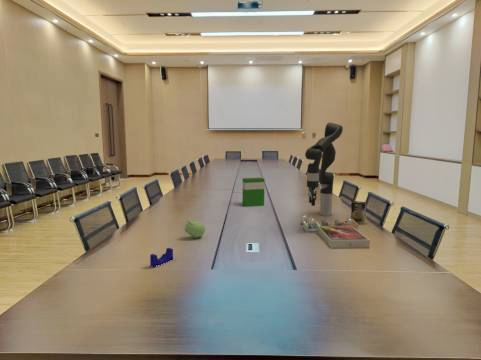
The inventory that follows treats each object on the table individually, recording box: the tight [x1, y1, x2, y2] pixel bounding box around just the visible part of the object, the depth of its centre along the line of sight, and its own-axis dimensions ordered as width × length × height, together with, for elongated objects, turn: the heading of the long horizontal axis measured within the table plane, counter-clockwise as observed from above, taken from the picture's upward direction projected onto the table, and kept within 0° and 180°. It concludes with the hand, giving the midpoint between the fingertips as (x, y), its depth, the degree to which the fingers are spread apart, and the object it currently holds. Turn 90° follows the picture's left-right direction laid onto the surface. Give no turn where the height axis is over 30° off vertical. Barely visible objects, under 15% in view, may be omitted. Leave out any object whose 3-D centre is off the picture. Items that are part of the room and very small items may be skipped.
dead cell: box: [345, 217, 354, 224], centre depth 219 cm, size 5×5×7 cm
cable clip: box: [149, 247, 174, 268], centre depth 164 cm, size 12×4×6 cm, turn 146°
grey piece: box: [302, 219, 362, 233], centre depth 219 cm, size 11×36×6 cm, turn 89°
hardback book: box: [242, 177, 265, 208], centre depth 291 cm, size 18×7×24 cm, turn 107°
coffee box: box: [350, 200, 367, 225], centre depth 231 cm, size 9×6×16 cm
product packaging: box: [316, 225, 371, 249], centre depth 199 cm, size 22×28×5 cm
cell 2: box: [307, 216, 316, 229], centre depth 219 cm, size 5×5×7 cm
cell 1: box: [299, 214, 308, 226], centre depth 232 cm, size 5×5×7 cm
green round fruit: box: [183, 220, 206, 239], centre depth 202 cm, size 12×11×11 cm
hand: (311, 204), depth 217 cm, fingers open, 8 cm apart
